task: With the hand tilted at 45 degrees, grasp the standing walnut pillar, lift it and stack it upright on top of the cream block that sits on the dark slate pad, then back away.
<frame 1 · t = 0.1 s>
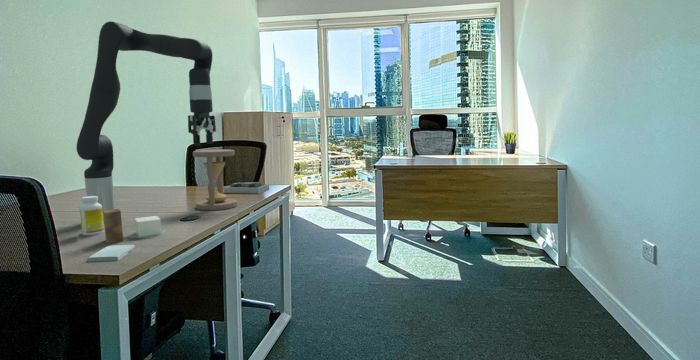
hand: (203, 144, 160), 29 cm above the table, tool pointing down, fingers open, 8 cm apart
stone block: (247, 192, 244), on the table
walnut pillar: (114, 241, 142), on the table
hourglass: (217, 207, 200), on the table
cream block: (148, 233, 151), resting on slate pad
supplement bottle: (93, 234, 153), on the table
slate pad: (147, 234, 151), on the table
grey organizer frame: (247, 191, 244), on the table
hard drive: (112, 256, 129), on the table
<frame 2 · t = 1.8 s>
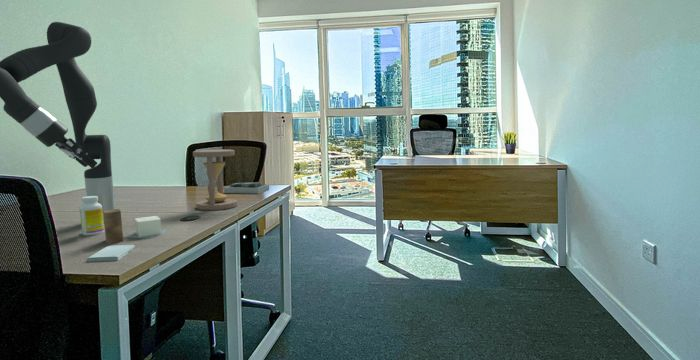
hand: (91, 165, 137), 25 cm above the table, tool tilted 45°, fingers open, 8 cm apart
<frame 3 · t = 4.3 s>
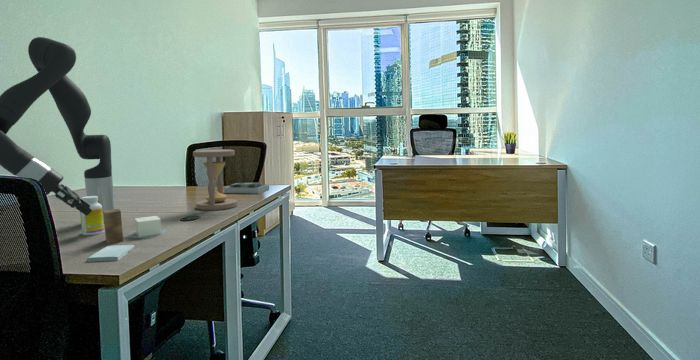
hand: (89, 210, 138), 11 cm above the table, tool tilted 45°, fingers open, 8 cm apart
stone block: (246, 192, 242), on the table
everything else where it was.
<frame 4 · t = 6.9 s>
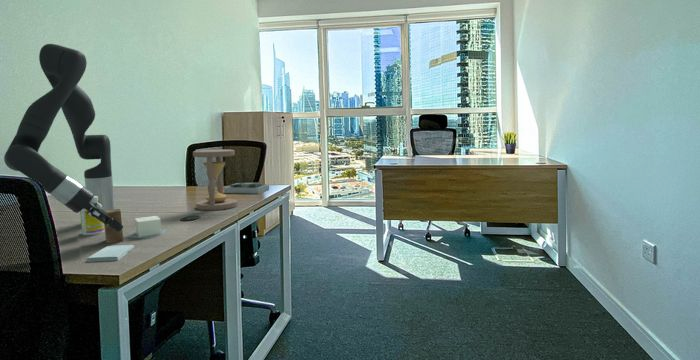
hand: (120, 227, 143), 4 cm above the table, tool tilted 45°, fingers closed on walnut pillar, 4 cm apart
walnut pillar: (114, 241, 142), on the table, touching gripper
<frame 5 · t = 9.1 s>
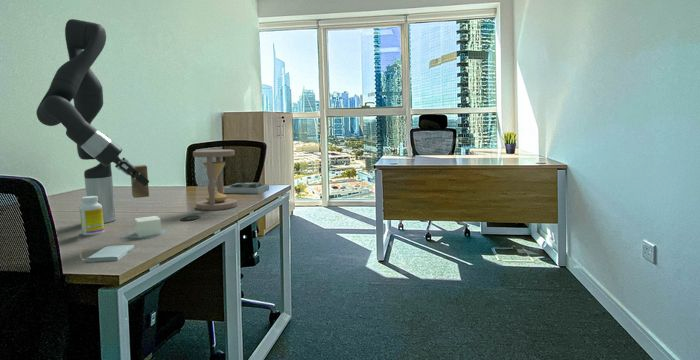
hand: (146, 182, 149), 18 cm above the table, tool tilted 45°, fingers closed on walnut pillar, 4 cm apart
walnut pillar: (140, 196, 148), point 13 cm above the table, touching gripper
when the fingers open (11 cm above the table, at t = 11.3 s): walnut pillar drops 1 cm, resting on cream block.
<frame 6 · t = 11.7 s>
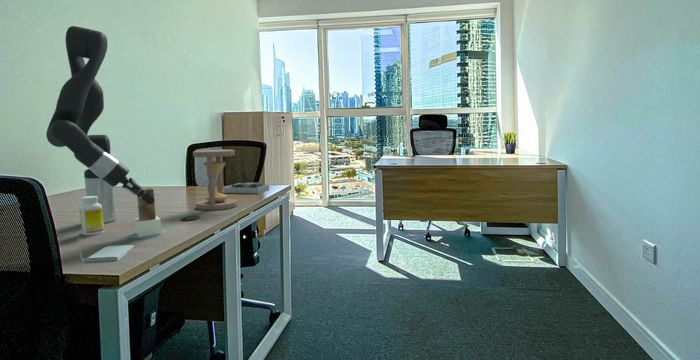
hand: (150, 200, 150), 11 cm above the table, tool tilted 45°, fingers open, 8 cm apart
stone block: (248, 192, 242), on the table, touching grey organizer frame
walnut pillar: (147, 218, 150), point 5 cm above the table, touching cream block
cream block: (148, 233, 151), resting on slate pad, touching walnut pillar
everything else where it was.
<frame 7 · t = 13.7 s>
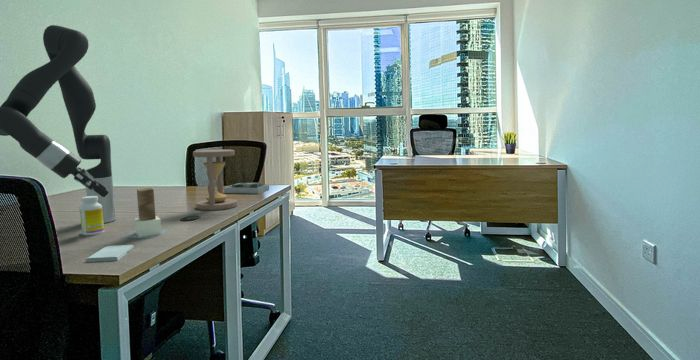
hand: (105, 192, 143), 15 cm above the table, tool tilted 45°, fingers open, 8 cm apart
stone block: (248, 192, 242), on the table
everything else where it was.
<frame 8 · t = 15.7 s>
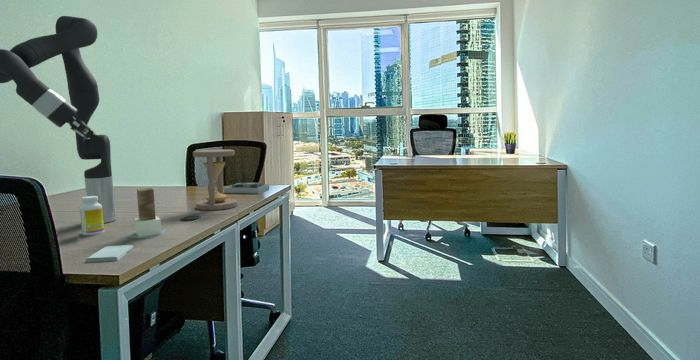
hand: (102, 144, 142), 31 cm above the table, tool tilted 45°, fingers open, 8 cm apart
nothing on the table moved.
at the end: walnut pillar 0.1 cm off-centre on the cream block, point 5.0 cm above the cream block's base; walnut pillar tilted 0°; the gripper is holding nothing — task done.
